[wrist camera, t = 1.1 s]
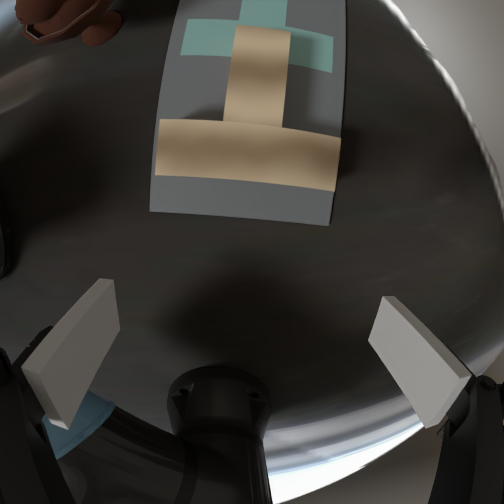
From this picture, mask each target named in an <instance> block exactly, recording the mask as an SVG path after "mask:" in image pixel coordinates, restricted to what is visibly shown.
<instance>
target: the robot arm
mask: <svg viewBox="0 0 504 504" xmlns="http://www.w3.org/2000/svg"><path fill="white" fill-rule="evenodd" d="M119 331H120V325H119V319H118V312H117V305H116V297H115V288H114V280H109V279H101V278H100V279H99V280H98V281H97V282H96V283H95V284H94V285H93V286H92V287H91V288H90V289H89V290H88V291H87V292H86V293H85V294H84V295H83V296H82V297H81V298H80V299H79V300H78V301H77V302H76V303H75V304H74V305H73V307H72V308H71V309H70V310H69V311H68V312H67V313H66V314H65V315H64V316H63V317H62V319H61V320H60V321H59V322H58V323H57V324H56V325H55V326H54V327H53V326H49V327H47V328H45V329H44V330H42V331H40V332H39V334H38V335H37V336H36V337H35V338H34V341H33V340H32V342H31V343H30V344H29V346H28V347H26V349H25V350H24V351H23V352H22V353H21V354H20V356H19V357H18V358H17V359H16V361H15V362H14V363H13V364H12V365H11V363H10V360H9V358H8V356H7V354H6V351H5V350H4V349H3V348H0V504H273V502H272V497H271V491H270V485H269V479H268V473H267V466H266V460H265V454H264V447H263V438H264V434H265V430H266V427H267V423H268V419H269V416H270V409H271V407H270V400H269V394H268V391H267V389H266V388H265V386H264V385H263V384H262V383H261V382H260V381H259V380H258V379H256V378H255V377H253V376H251V375H249V374H247V373H245V372H242V371H239V370H235V369H230V368H222V367H208V368H201V369H196V370H192V371H190V372H187V373H185V374H183V375H181V376H180V377H178V378H177V379H176V380H175V381H174V382H173V384H172V385H171V387H170V390H169V394H168V399H167V410H168V414H169V418H170V423H171V427H172V431H173V434H171V433H169V432H166V431H164V430H162V429H160V428H158V427H155V426H153V425H151V424H149V423H147V422H145V421H143V420H141V419H139V418H137V417H135V416H133V415H132V414H130V413H128V412H126V411H124V410H122V409H121V408H119V407H117V406H116V405H115V404H114V403H113V402H112V401H106V400H105V399H103V398H101V397H99V396H97V395H96V394H94V393H92V392H91V391H89V390H88V388H89V386H90V384H91V382H92V380H93V378H94V376H95V374H96V372H97V370H98V368H99V367H100V365H101V363H102V361H103V359H104V357H105V355H106V354H107V352H108V350H109V348H110V346H111V345H112V343H113V341H114V339H115V338H116V336H117V334H118V332H119ZM368 341H369V343H370V344H371V345H372V347H373V348H374V350H375V351H376V353H377V354H378V356H379V357H380V359H381V360H382V361H383V363H384V364H385V366H386V367H387V369H388V370H389V372H390V373H391V375H392V376H393V378H394V379H395V381H396V382H397V384H398V385H399V387H400V388H401V390H402V392H403V393H404V395H405V396H406V398H407V399H408V401H409V402H410V404H411V405H412V407H413V409H414V410H415V412H416V413H417V415H418V417H419V418H420V420H421V421H422V423H423V425H424V426H425V428H428V427H431V426H434V425H436V424H438V423H439V422H440V421H441V419H442V418H443V417H444V416H445V414H447V416H448V417H449V419H448V420H447V421H446V422H445V424H444V425H443V426H442V428H441V429H440V430H439V431H438V432H437V435H436V436H439V435H440V433H441V432H442V431H444V434H443V435H442V436H441V438H443V442H442V447H441V453H440V458H439V463H438V468H437V472H436V476H435V480H434V484H433V488H432V491H431V495H430V498H429V502H428V504H504V426H503V419H504V382H503V384H496V382H495V381H494V380H493V379H491V378H490V377H488V376H484V375H481V376H478V377H476V376H475V375H474V374H473V373H472V372H471V371H470V370H469V369H468V367H467V366H466V365H465V364H464V363H463V362H462V361H461V360H460V359H459V358H458V357H457V356H456V355H455V354H454V353H453V352H452V351H451V349H450V348H449V347H448V346H446V345H445V344H443V343H442V342H441V341H440V340H439V339H438V338H437V337H436V336H435V335H434V334H433V333H432V332H431V331H430V330H429V329H428V328H427V327H426V326H425V325H424V324H423V323H422V322H421V321H420V320H419V319H418V318H417V317H416V316H415V315H413V314H412V313H411V312H410V311H409V310H408V309H407V308H406V307H405V306H404V305H403V304H402V303H401V302H400V301H399V300H398V299H397V298H396V297H394V296H383V297H382V300H381V304H380V307H379V310H378V313H377V316H376V319H375V322H374V325H373V328H372V331H371V334H370V336H369V339H368Z"/></svg>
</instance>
